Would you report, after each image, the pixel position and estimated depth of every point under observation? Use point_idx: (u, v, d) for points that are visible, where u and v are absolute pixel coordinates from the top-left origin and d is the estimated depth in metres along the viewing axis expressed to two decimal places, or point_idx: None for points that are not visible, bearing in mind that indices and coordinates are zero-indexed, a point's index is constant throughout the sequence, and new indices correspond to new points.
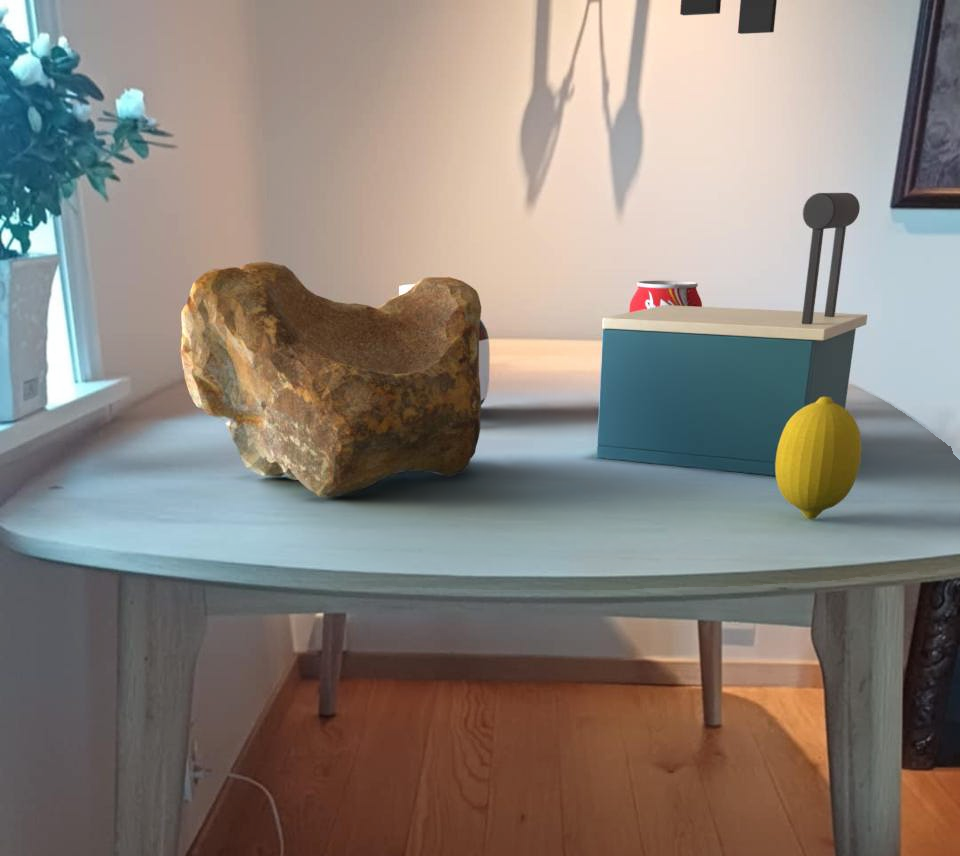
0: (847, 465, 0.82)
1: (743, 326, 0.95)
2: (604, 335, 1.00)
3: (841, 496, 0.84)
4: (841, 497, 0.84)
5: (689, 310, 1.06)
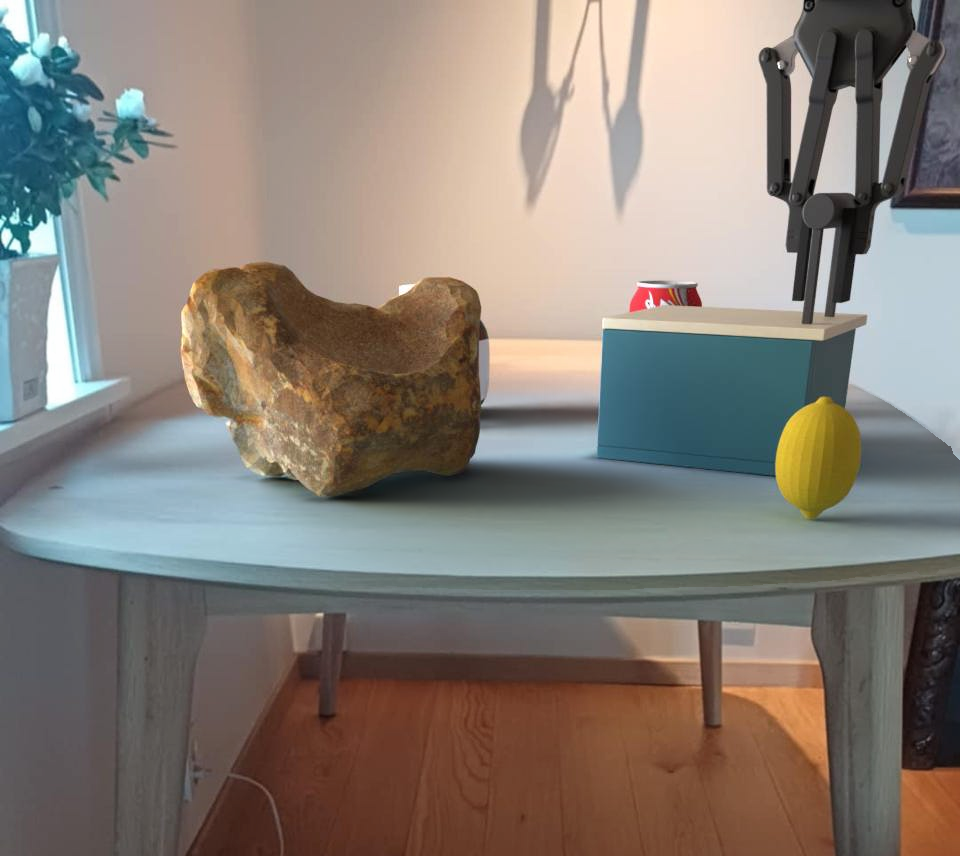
0: (847, 465, 0.82)
1: (743, 326, 0.95)
2: (604, 335, 1.00)
3: (841, 496, 0.84)
4: (841, 497, 0.84)
5: (689, 310, 1.06)
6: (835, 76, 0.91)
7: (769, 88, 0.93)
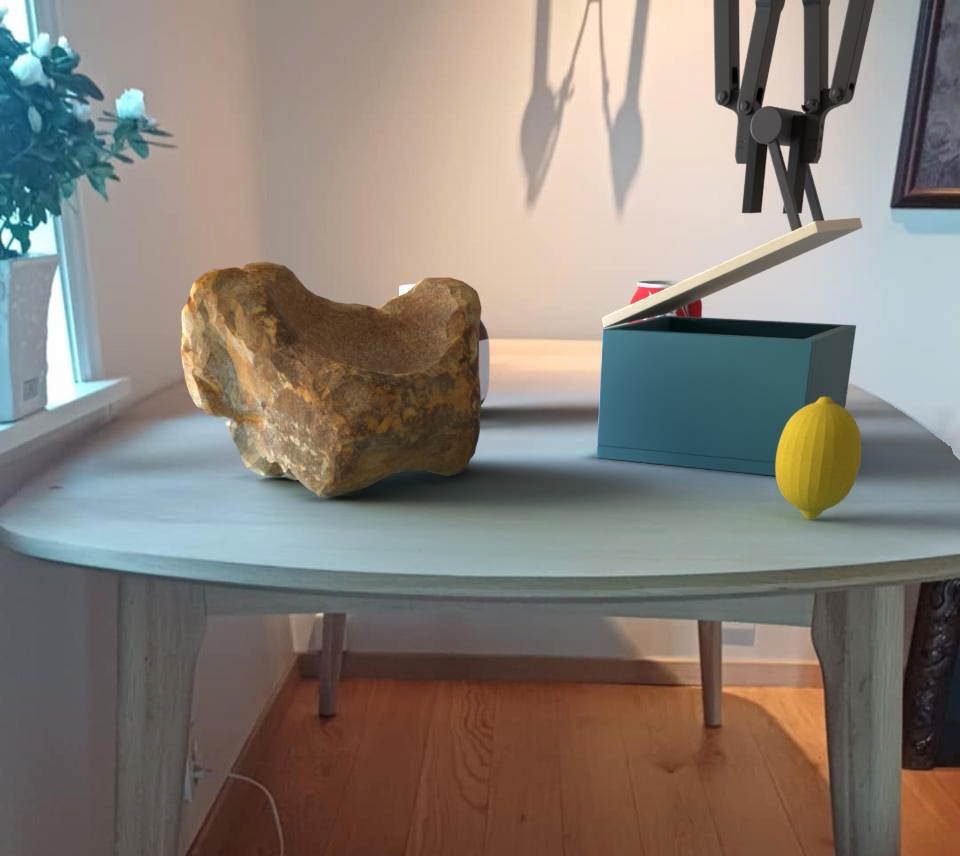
0: (847, 465, 0.82)
1: (735, 258, 0.93)
2: (604, 335, 1.00)
3: (841, 496, 0.84)
4: (841, 497, 0.84)
5: None
6: None
7: None
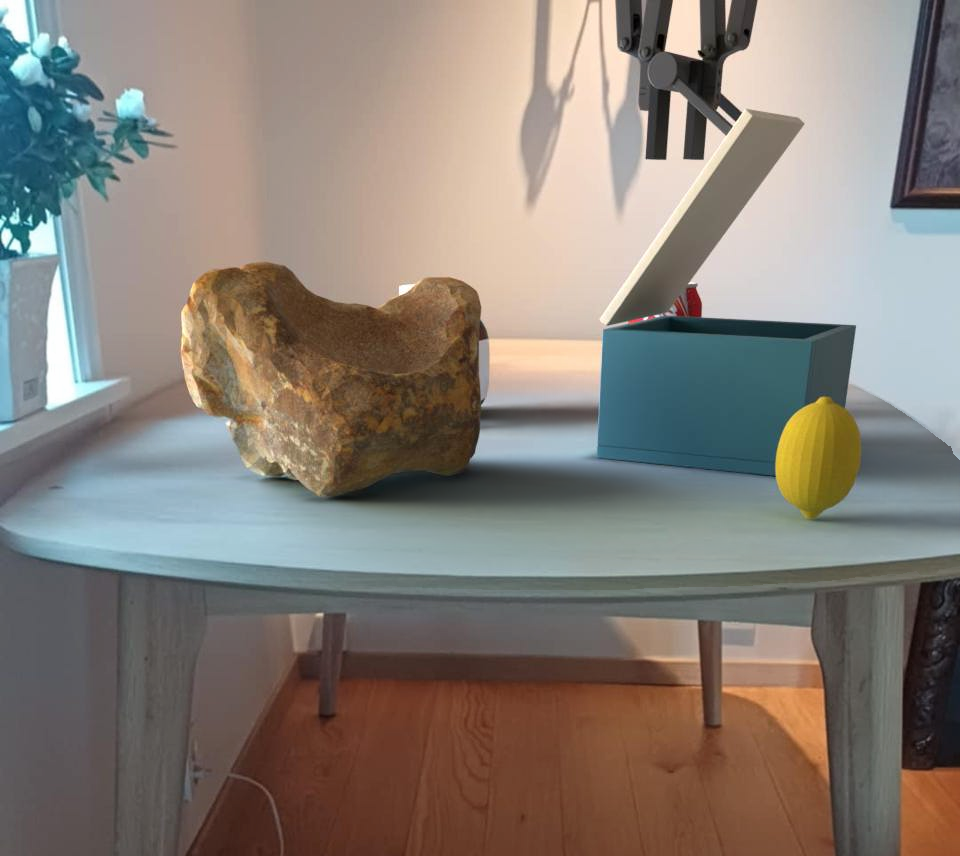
0: (847, 465, 0.82)
1: (691, 188, 0.93)
2: (604, 335, 1.00)
3: (841, 496, 0.84)
4: (841, 497, 0.84)
5: None
6: None
7: None
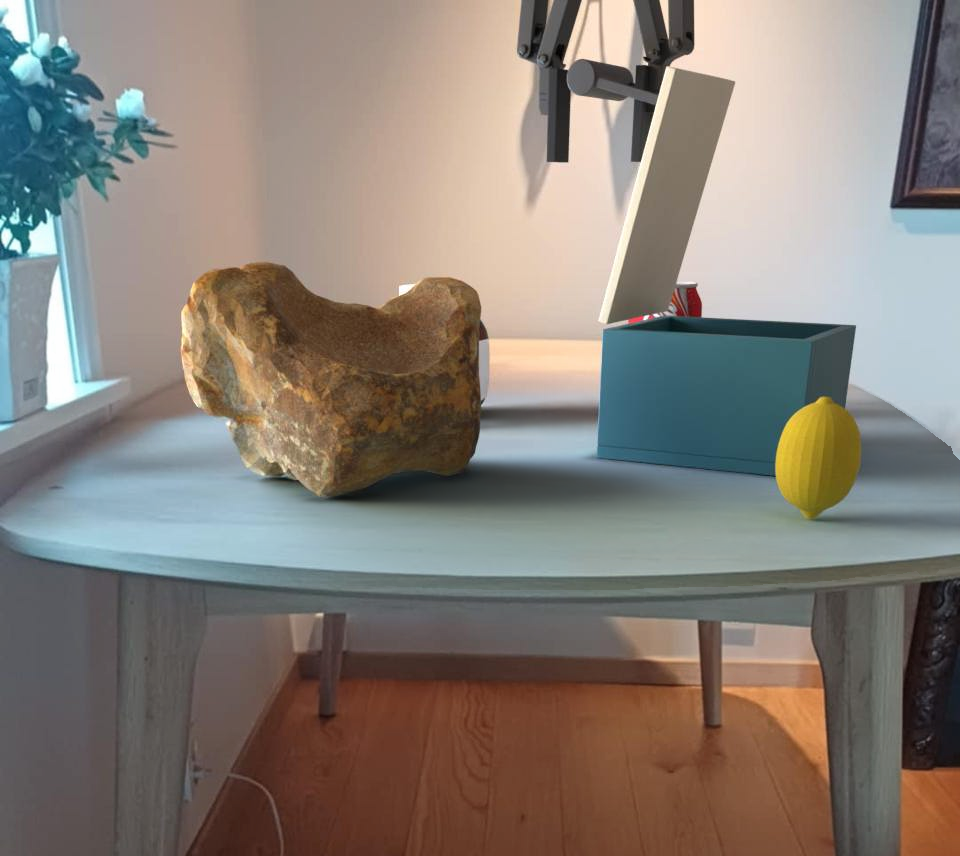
0: (847, 465, 0.82)
1: (642, 161, 0.94)
2: (604, 335, 1.00)
3: (841, 496, 0.84)
4: (841, 497, 0.84)
5: None
6: None
7: None
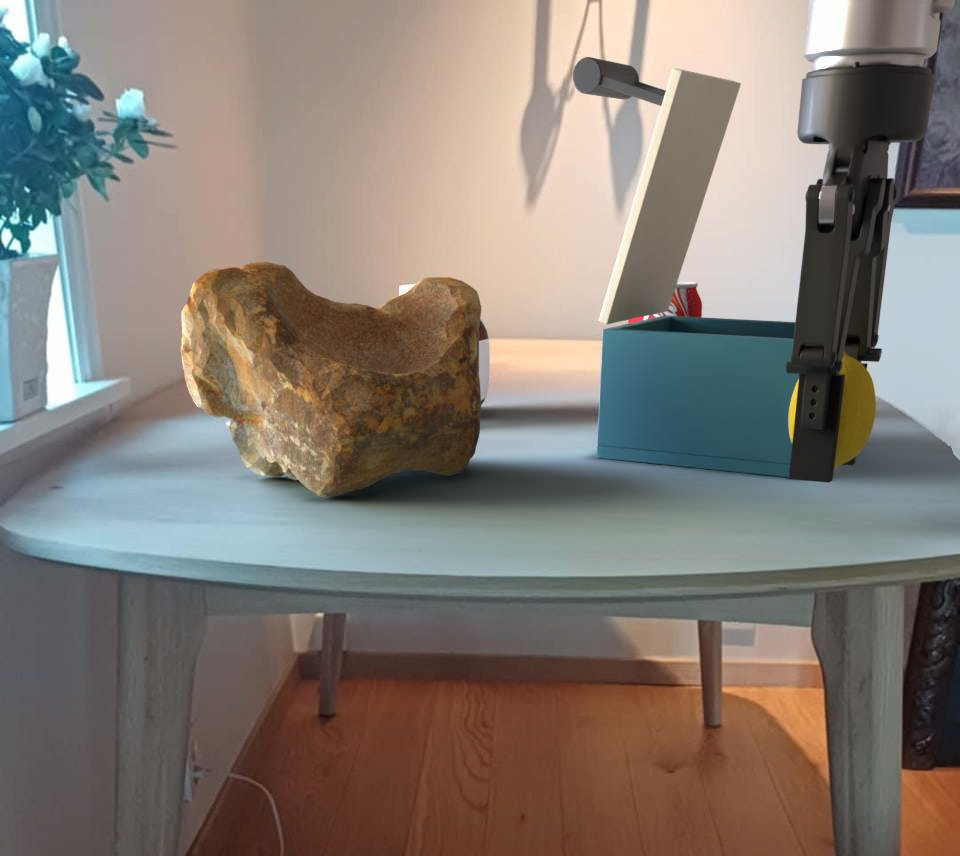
0: (861, 417, 0.80)
1: (645, 162, 0.94)
2: (604, 335, 1.00)
3: (856, 450, 0.82)
4: (856, 451, 0.82)
5: None
6: None
7: (846, 236, 0.72)
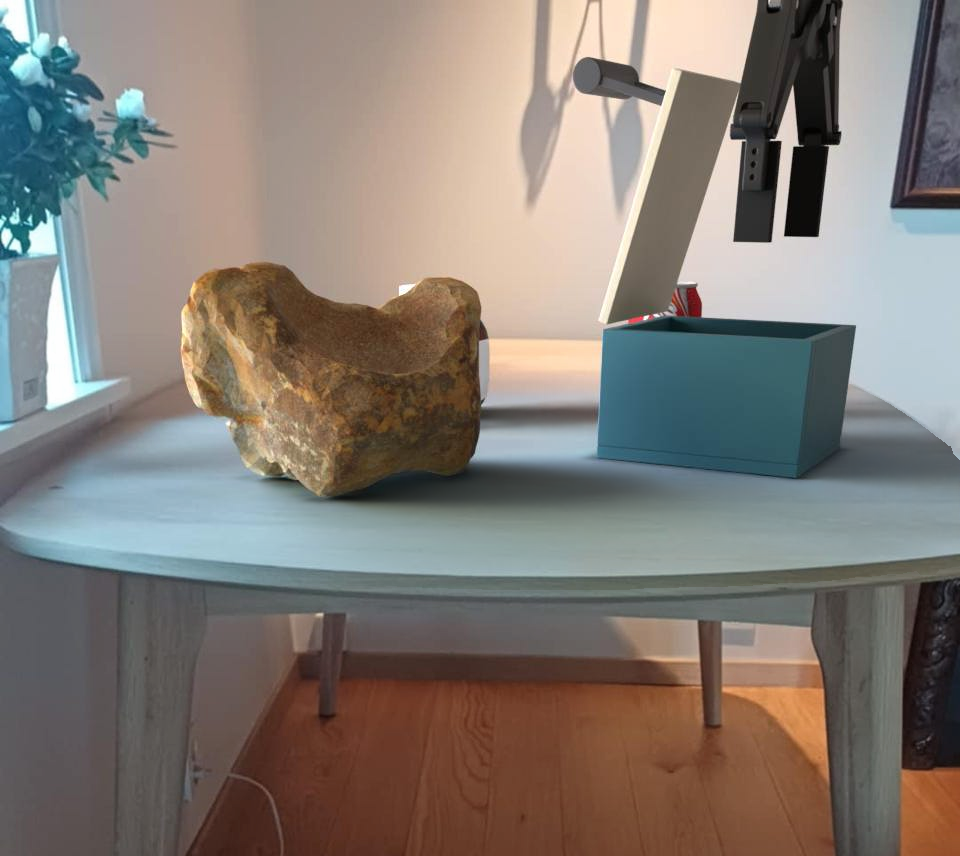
0: None
1: (645, 162, 0.94)
2: (604, 335, 1.00)
3: None
4: None
5: None
6: None
7: (790, 16, 0.85)
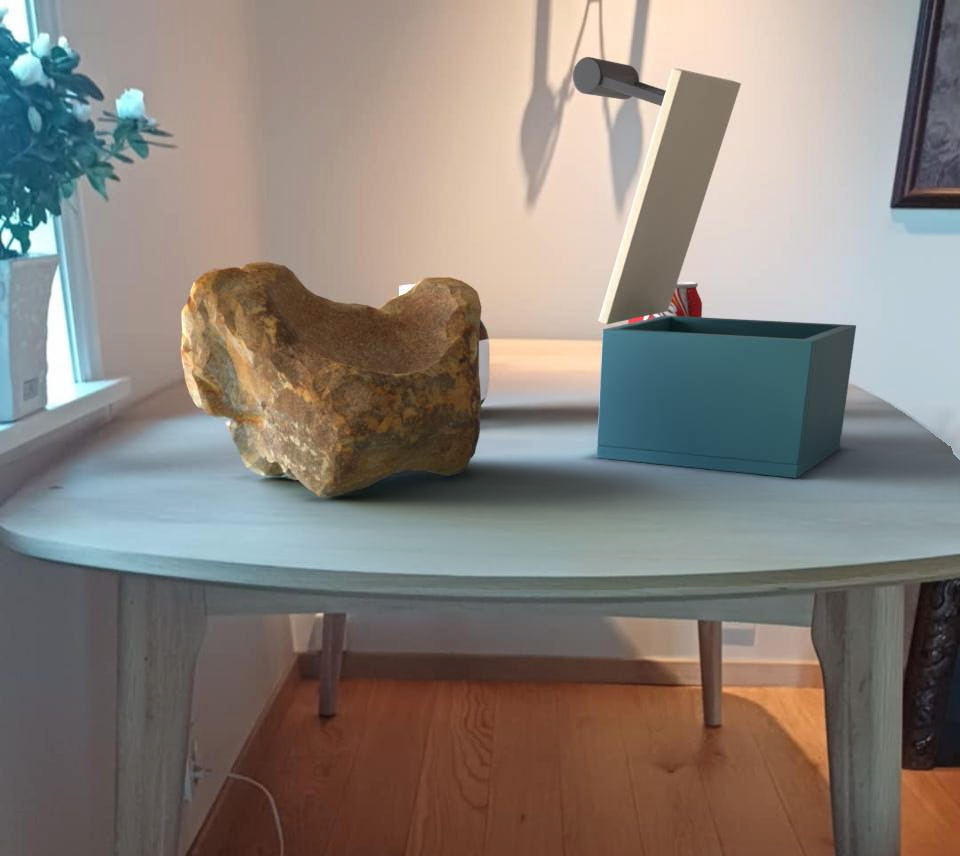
0: None
1: (645, 162, 0.94)
2: (604, 335, 1.00)
3: None
4: None
5: None
6: None
7: None
